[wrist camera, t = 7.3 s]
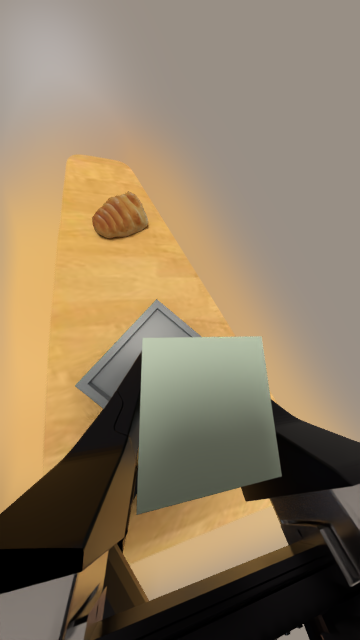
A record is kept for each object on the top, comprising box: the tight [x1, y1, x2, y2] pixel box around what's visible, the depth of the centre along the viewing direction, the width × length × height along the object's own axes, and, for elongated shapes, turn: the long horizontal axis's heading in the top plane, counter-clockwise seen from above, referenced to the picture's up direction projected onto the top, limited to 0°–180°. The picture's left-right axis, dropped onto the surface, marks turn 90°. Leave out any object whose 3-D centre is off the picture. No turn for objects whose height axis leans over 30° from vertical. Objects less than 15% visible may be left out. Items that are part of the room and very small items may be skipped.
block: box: [137, 337, 282, 515], centre depth 10 cm, size 4×4×12 cm
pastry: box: [92, 191, 148, 238], centre depth 23 cm, size 9×7×4 cm
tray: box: [75, 299, 201, 409], centre depth 20 cm, size 16×18×2 cm
